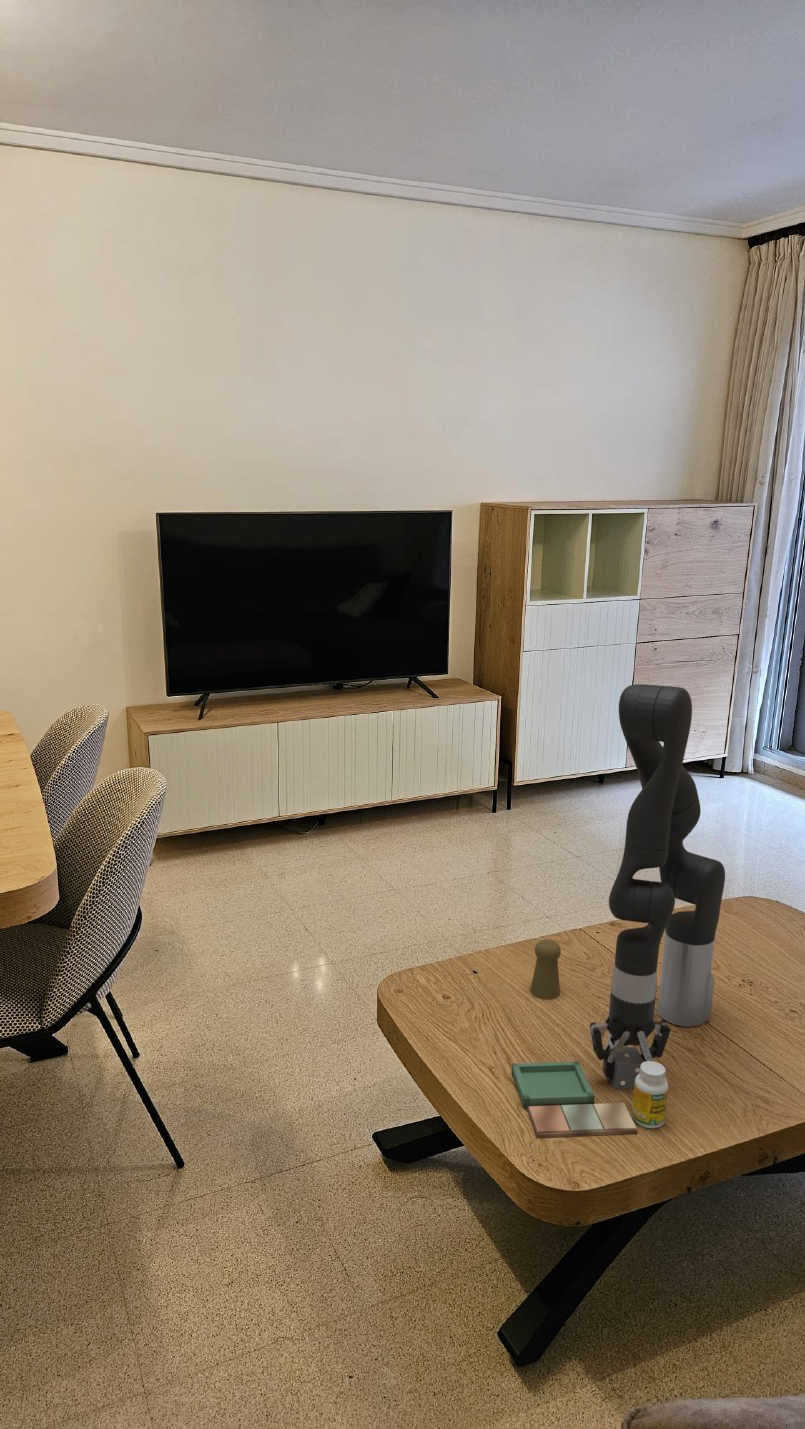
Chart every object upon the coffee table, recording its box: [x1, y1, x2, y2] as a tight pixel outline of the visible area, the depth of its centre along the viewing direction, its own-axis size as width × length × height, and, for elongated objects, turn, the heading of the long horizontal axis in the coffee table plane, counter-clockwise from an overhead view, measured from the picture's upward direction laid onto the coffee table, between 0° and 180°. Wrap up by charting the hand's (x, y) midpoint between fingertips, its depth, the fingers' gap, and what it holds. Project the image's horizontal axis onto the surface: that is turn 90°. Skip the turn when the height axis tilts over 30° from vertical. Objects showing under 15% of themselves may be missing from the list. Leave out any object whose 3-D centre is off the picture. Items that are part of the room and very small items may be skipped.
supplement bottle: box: [631, 1060, 669, 1129], centre depth 161 cm, size 5×5×10 cm
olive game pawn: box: [529, 939, 562, 1001], centre depth 200 cm, size 6×6×11 cm
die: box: [610, 1046, 644, 1091], centre depth 172 cm, size 5×5×5 cm
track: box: [526, 1102, 639, 1139], centre depth 161 cm, size 16×7×1 cm, turn 95°
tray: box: [511, 1060, 596, 1109], centre depth 169 cm, size 12×10×2 cm
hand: (625, 1076), depth 172 cm, fingers closed on die, 5 cm apart
